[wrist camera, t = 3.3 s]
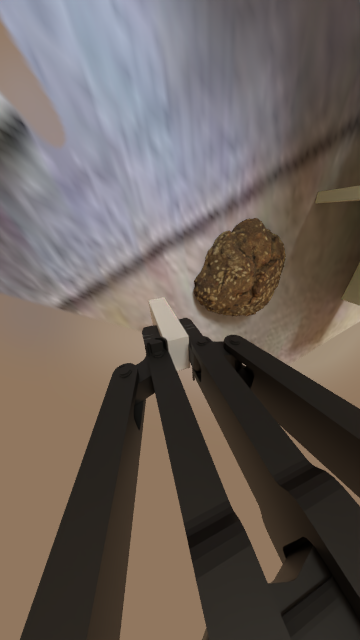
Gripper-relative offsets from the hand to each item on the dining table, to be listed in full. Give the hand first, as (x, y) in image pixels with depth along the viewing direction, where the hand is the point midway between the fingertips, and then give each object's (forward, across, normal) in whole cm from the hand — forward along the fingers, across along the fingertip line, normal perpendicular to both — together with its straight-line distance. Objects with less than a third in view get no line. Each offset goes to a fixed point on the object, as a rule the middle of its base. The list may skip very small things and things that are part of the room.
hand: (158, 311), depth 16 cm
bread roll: (+6, +13, +1) cm, 14 cm away
